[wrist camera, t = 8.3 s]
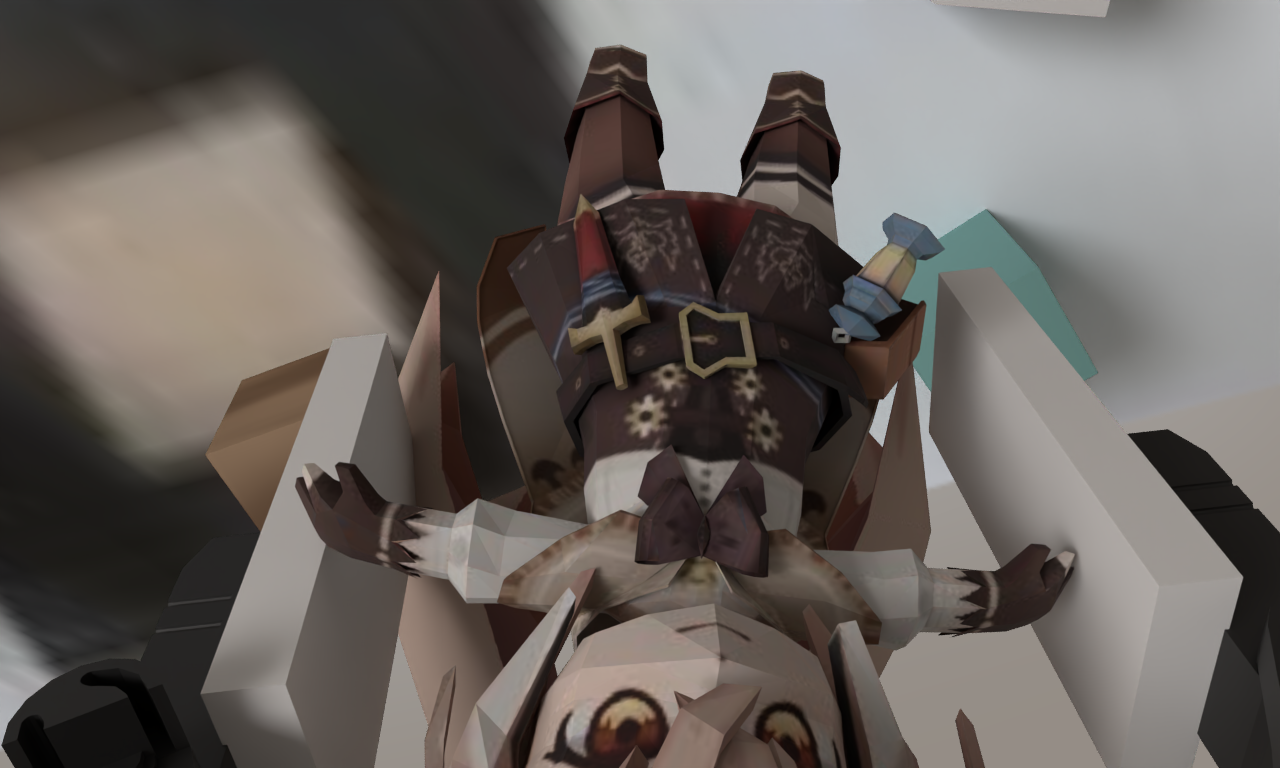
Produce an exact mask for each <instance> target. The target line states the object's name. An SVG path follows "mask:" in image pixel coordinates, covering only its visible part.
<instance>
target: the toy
mask: <svg viewBox="0 0 1280 768" xmlns="http://www.w3.org/2000/svg"><path fill="white" fill-rule="evenodd" d="M564 140H565V145H566V149H567V154H568V158H569V163H570V165H569V169H568V174H567V178H566V182H565V187H564V192H563V198H562V203H561V209H560V214H559V220H558V225H557V226H556V227H553V228H551V229H548V230H546V226H545V224H544V225H540V226H536V227H532V228H529V229H525V230H521V231H517V232H513V233H509V234H506V235H502V236H498V237H495V239H494V241H493V244H492V247H491V250H490V252H489V255H488V258H487V260H486V263H485V266H484V268H483V271H482V274H481V277H480V279H479V282H478V285H477V323H478V328H479V333H480V338H481V343H482V348H483V353H484V358H485V363H486V368H487V373H488V377H489V380H490V383H491V387H492V390H493V393H494V396H495V400H496V403H497V406H498V409H499V413H500V416H501V419H502V422H503V425H504V428H505V431H506V433H507V436H508V439H509V442H510V445H511V447H512V450H513V453H514V456H515V459H516V461H517V464H518V467H519V470H520V473H521V475H522V478H523V481H524V484H525V486H524V487H521V488H519V489H516V490H514V491H511V492H509V493H507V494H504V495H502V496H499V497H497V498H494V499H492V500H490V501H484V500H482V498H481V495H480V491H479V488H478V485H477V482H476V479H475V476H474V473H473V470H472V466H471V463H470V460H469V457H468V454H467V451H466V448H465V444H464V441H463V438H462V431H461V421H460V411H459V401H458V391H457V381H456V371H455V362H454V363H452V364H451V365H450V366H448V367H447V368H446V369H444V370H443V371H442V372H441V360H440V299H439V272H438V274H437V277H436V280H435V282H434V285H433V288H432V290H431V293H430V296H429V298H428V301H427V304H426V306H425V309H424V312H423V314H422V317H421V320H420V322H419V325H418V328H417V330H416V333H415V336H414V338H413V341H412V344H411V346H410V349H409V352H408V354H407V357H406V360H405V362H404V365H403V368H402V370H401V373H400V376H399V378H398V381H399V385H400V389H401V393H402V398H403V402H404V406H405V410H406V414H407V418H408V422H409V426H410V431H411V435H412V443H413V460H414V478H415V496H416V506H413V505H405V504H400V503H394V502H389V501H386V500H385V499H384V498H382V497H381V496H380V495H379V494H378V493H377V492H376V490H375V489H374V488H373V486H372V485H371V484H370V483H369V481H368V480H367V479H366V477H365V476H364V475H363V473H362V472H361V471H360V470H359V468H358V467H357V466H356V464H350V463H344V462H338V463H337V464H336V465H335V468H336V471H337V474H338V477H339V480H340V481H337V480H335V479H333V478H332V477H331V476H330V475H328V474H327V473H326V472H325V471H323V470H322V469H321V468H320V467H319V466H317V465H316V464H315V463H308V464H304V466H303V469H302V474H303V477H297V479H296V484H295V488H296V490H297V492H298V495H299V497H300V499H301V501H302V503H303V505H304V507H305V509H306V512H307V514H308V516H309V518H310V520H311V522H312V524H313V526H314V528H315V530H316V532H317V534H318V536H319V537H320V539H321V540H322V541H323V542H324V543H325V544H326V545H327V546H328V547H330V548H332V549H334V550H336V551H338V552H340V553H342V554H344V555H346V556H348V557H350V558H353V559H357V560H361V561H365V562H369V563H372V564H376V565H380V566H384V567H388V568H392V569H395V570H398V571H400V572H402V573H405V574H407V575H408V581H407V586H406V592H405V598H404V603H403V609H402V614H401V620H400V625H399V631H398V634H399V637H400V640H401V643H402V646H403V650H404V652H405V656H406V659H407V662H408V665H409V668H410V671H411V674H412V677H413V680H414V683H415V686H416V689H417V692H418V696H419V698H420V702H421V705H422V708H423V710H424V714H425V717H426V720H427V723H428V726H429V727H428V730H427V734H426V737H425V768H919V766H918V763H917V759H916V757H915V756H914V754H913V753H912V752H911V750H910V748H909V747H908V745H907V743H906V742H905V740H904V739H903V737H902V735H901V732H900V730H899V727H898V725H897V722H896V720H895V717H894V715H893V712H892V710H891V708H890V705H889V702H888V700H887V697H886V695H885V692H884V690H883V687H882V685H881V682H880V680H879V677H880V675H881V674H882V672H883V670H884V668H885V666H886V664H887V662H888V660H889V658H890V656H891V654H892V652H893V650H898V649H900V648H903V647H905V646H906V645H907V644H908V643H909V642H910V641H911V640H912V639H913V638H914V637H915V636H916V635H917V634H918V633H919V632H941V633H940V634H939V635H950V634H957V635H955V636H959V635H963V634H967V633H981V632H1002V631H1009V630H1012V629H1015V628H1018V627H1022V626H1025V625H1028V624H1030V623H1032V622H1034V621H1036V620H1038V619H1040V618H1041V617H1043V616H1044V615H1046V614H1047V613H1048V612H1050V611H1051V609H1052V607H1053V606H1054V604H1055V602H1056V601H1057V599H1058V597H1059V596H1060V594H1061V592H1062V591H1063V589H1064V587H1065V586H1066V584H1067V582H1068V581H1069V579H1070V577H1071V575H1072V573H1073V570H1074V567H1071V564H1072V562H1073V559H1074V556H1075V554H1073V553H1070V552H1067V551H1064V552H1062V553H1061V554H1059V555H1057V556H1055V557H1054V558H1052V559H1050V560H1048V561H1046V559H1047V557H1048V555H1049V553H1050V551H1051V549H1050V548H1049V547H1047V546H1046V545H1043V544H1030V545H1029V546H1027V547H1026V548H1025V549H1024V550H1023V551H1022V552H1020V553H1019V554H1018V555H1017V556H1016V557H1014V558H1013V559H1012V560H1011V561H1010V562H1009V563H1007V564H1006V565H1005V566H1004V567H1002V568H1000V569H998V570H996V571H978V570H968V569H959V568H949V567H947V568H948V569H936V568H927V567H926V566H925V564H924V563H923V561H924V557H925V553H926V549H927V545H928V541H929V537H930V533H931V527H930V517H929V508H928V499H927V489H926V480H925V471H924V462H923V452H922V443H921V434H920V424H919V415H918V406H917V397H916V387H915V378H914V369H913V361H914V360H915V358H916V357H917V355H918V353H919V351H920V346H921V339H922V333H923V326H924V319H925V312H926V306H927V305H926V303H925V301H924V300H921V301H920V303H919V304H916V303H913V302H910V301H907V300H904V299H901V298H902V296H903V294H904V293H905V291H906V289H907V287H908V285H909V283H910V281H911V279H912V277H913V275H914V273H915V269H916V262H917V259H918V260H925V261H926V260H928V259H931V258H933V257H934V256H936V255H937V254H939V253H940V252H942V251H943V250H945V248H944V247H943V246H942V245H941V243H940V242H939V241H938V240H937V238H936V237H935V236H934V235H933V234H932V232H931V231H930V230H929V229H928V227H927V226H925V225H923V224H920V223H918V222H916V221H913V220H911V219H908V218H906V217H904V216H901V215H899V214H897V213H893V214H892V215H891V216H890V217H889V218H887V219H886V220H885V221H884V222H883V231H884V232H885V234H886V236H887V238H888V244H887V246H885V247H884V248H882V249H881V250H880V251H878V252H877V253H876V254H875V255H874V256H873V257H872V258H871V259H870V261H869V262H868V263H867V264H866V265H865V266H864V267H863V266H861V265H860V264H859V263H858V262H857V261H855V260H854V259H853V258H852V257H851V256H850V255H848V254H847V253H846V252H845V251H844V250H842V249H841V248H840V247H839V246H838V239H837V230H836V222H835V213H834V205H833V196H832V187H831V186H832V184H833V183H834V181H835V180H836V178H837V177H838V173H839V162H840V150H841V147H840V145H839V142H838V139H837V136H836V134H835V131H834V128H833V125H832V123H831V120H830V117H829V115H828V112H827V109H826V104H825V88H824V82H823V80H821V79H819V78H816V77H814V76H812V75H810V74H808V73H805V72H803V71H791V72H781V73H773V75H772V78H771V81H770V83H769V86H768V91H767V95H766V100H765V104H764V106H763V109H762V111H761V113H760V116H759V118H758V120H757V123H756V125H755V127H754V130H753V132H752V134H751V137H750V139H749V141H748V144H747V146H746V148H745V151H744V153H743V155H742V158H741V160H740V162H741V171H742V184H741V187H740V190H739V192H738V195H737V197H735V196H731V195H726V194H722V193H713V192H693V191H674V190H665V187H664V183H663V179H662V175H661V170H660V166H659V162H658V160H659V158H660V156H661V155H662V153H663V151H664V142H663V130H662V120H661V118H660V115H659V112H658V110H657V107H656V104H655V101H654V99H653V96H652V93H651V91H650V88H649V85H648V83H647V56H646V55H645V54H643V53H640V52H638V51H635V50H633V49H630V48H628V47H625V46H623V45H615V46H607V47H600V48H595V51H594V53H593V56H592V58H591V61H590V64H589V68H588V71H587V75H586V77H585V80H584V83H583V85H582V88H581V91H580V93H579V96H578V99H577V101H576V104H575V107H574V109H573V112H572V115H571V118H570V121H569V124H568V127H567V131H566V134H565V137H564ZM897 381H898V383H897ZM896 383H897V388H896V392H895V396H894V401H893V405H892V410H891V414H890V418H889V423H888V427H887V432H886V436H885V440H884V445H883V447H882V446H881V445H880V444H879V443H878V442H877V441H876V440H875V439H874V438H873V437H872V435H871V434H870V433H869V430H870V428H871V425H872V422H873V419H874V416H875V412H876V409H877V405H878V402H879V399H884V398H885V397H886V395H887V394H888V393H889V392H890V390H891V389H892V388H893V386H894V385H895V384H896ZM1045 561H1046V562H1045ZM570 631H571V634H572V641H573V647H574V654H573V655H572V657H571V658H570V660H569V661H568V662H567V664H566V665H565V667H564V668H563V670H562V671H561V672H560V674H559V675H558V676H557V672H556V668H555V664H554V663H555V661H556V659H557V657H558V655H559V653H560V651H561V649H562V647H563V645H564V643H565V641H566V639H567V637H568V635H569V633H570ZM952 637H954V636H952ZM955 721H956V726H957V730H958V735H959V739H960V744H961V749H962V753H963V758H964V762H965V767H966V768H985V767H984V762H983V759H982V755H981V751H980V748H979V744H978V741H977V737H976V733H975V730H974V726H973V724H972V723H971V722H970V721H969V719H968V718H967V717H966V715H965V714H964V713H963V712H962V710H961V709H960V710H959V713H958V715H957V718H956V720H955Z"/></svg>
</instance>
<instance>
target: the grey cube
mask: <svg viewBox="0 0 1280 768" xmlns="http://www.w3.org/2000/svg"><path fill="white" fill-rule="evenodd" d="M930 1H932V2H933V3H934V4H938V5H951V6H964V7H977V8H990V9H1003V10H1016V11H1029V12H1042V13H1055V14H1068V15H1081V16H1094V17H1106V13H1107V10H1108V7H1109V3H1110V0H930Z"/></svg>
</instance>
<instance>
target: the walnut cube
mask: <svg viewBox="0 0 1280 768" xmlns="http://www.w3.org/2000/svg"><path fill="white" fill-rule="evenodd" d="M329 349H330V348H329ZM329 349H326V350H323V351H321V352H318V353H315V354H313V355H310V356H307V357H304V358H302V359H299V360H296V361H293V362H291V363H288V364H285V365H283V366H280V367H277V368H274V369H272V370H269V371H266V372H264V373H261V374H258V375H255V376H253V377H250V378H247V379H245V380H242V382H241V384H240V386H239V388H238V390H237V392H236V394H235V396H234V398H233V400H232V402H231V404H230V406H229V408H228V410H227V412H226V414H225V416H224V418H223V420H222V422H221V424H220V426H219V428H218V430H217V432H216V434H215V436H214V438H213V440H212V442H211V444H210V446H209V448H208V450H207V452H206V454H205V455H206V457H207V458H208V460H209V461H210V462H211V464H212V465H213V466H214V468H215V469H216V471H217V472H218V473H219V475H220V476H221V478H222V479H223V480H224V482H225V483H226V484H227V486H228V487H229V489H230V490H231V491H232V493H233V494H234V496H235V497H236V498H237V500H238V501H239V503H240V504H241V505H242V507H243V508H244V509H245V511H246V512H247V514H248V515H249V516H250V518H251V519H252V521H253V522H254V523H255V525H256V526H257V527H258V529H259V530H260V532H261V531H262V528H263V525H264V523H265V520H266V517H267V515H268V512H269V509H270V507H271V504H272V501H273V499H274V496H275V493H276V491H277V488H278V485H279V483H280V480H281V477H282V475H283V472H284V469H285V467H286V464H287V461H288V459H289V456H290V453H291V451H292V448H293V445H294V443H295V440H296V437H297V435H298V432H299V429H300V427H301V424H302V421H303V419H304V416H305V413H306V411H307V408H308V405H309V403H310V400H311V397H312V395H313V392H314V389H315V387H316V384H317V381H318V379H319V376H320V373H321V371H322V368H323V365H324V363H325V360H326V357H327V355H328V352H329Z"/></svg>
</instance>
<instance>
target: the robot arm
mask: <svg viewBox="0 0 1280 768" xmlns="http://www.w3.org/2000/svg"><path fill="white" fill-rule="evenodd" d="M929 433H930V435H931V437H932V439H933V441H934V442H935V444H936V446H937V448H938V450H939V452H940V454H941V456H942V458H943V459H944V461H945V463H946V465H947V467H948V469H949V471H950V473H951V475H952V476H953V478H954V480H955V482H956V484H957V486H958V488H959V489H960V492H961V493H962V495H963V497H964V499H965V501H966V503H967V505H968V507H969V509H970V510H971V512H972V514H973V516H974V518H975V520H976V522H977V524H978V525H979V527H980V529H981V531H982V533H983V535H984V537H985V539H986V541H987V543H988V544H989V546H990V548H991V550H992V552H993V554H994V556H995V558H996V560H997V561H998V563H999V565H1000V567H1001V568H1002V567H1004V566H1005V565H1006V564H1007V563H1009V562H1010V561H1011V560H1012V559H1013V558H1014V557H1016V556H1017V555H1018V554H1019V553H1020V552H1022V551H1023V550H1024V549H1025V548H1026V547H1027V546H1029V545H1030V544H1043V545H1046V546H1047V547H1049V548H1050V549H1051V551H1050V553H1049V555H1048V557H1047V559H1046V561H1048V560H1050V559H1052V558H1054V557H1055V556H1057V555H1059V554H1061V553H1062V552H1064V551H1067V552H1070V553H1073V554H1075V556H1074V559H1073V562H1072V564H1071V567H1074V570H1073V573H1072V575H1071V577H1070V579H1069V581H1068V582H1067V584H1066V586H1065V587H1064V589H1063V591H1062V592H1061V594H1060V596H1059V597H1058V599H1057V601H1056V602H1055V604H1054V606H1053V607H1052V609H1051V611H1050V612H1048V613H1047V614H1046V615H1044V616H1043V617H1041V618H1040V619H1038V620H1036V621H1034V622H1032V623H1030V624H1031V626H1032V628H1033V630H1034V631H1035V633H1036V635H1037V637H1038V639H1039V641H1040V643H1041V645H1042V647H1043V648H1044V650H1045V652H1046V654H1047V656H1048V658H1049V660H1050V661H1051V664H1052V665H1053V667H1054V669H1055V671H1056V673H1057V675H1058V677H1059V679H1060V680H1061V682H1062V684H1063V686H1064V688H1065V690H1066V692H1067V694H1068V696H1069V698H1070V699H1071V701H1072V703H1073V705H1074V707H1075V709H1076V711H1077V713H1078V715H1079V716H1080V718H1081V720H1082V722H1083V724H1084V726H1085V728H1086V730H1087V732H1088V733H1089V735H1090V737H1091V739H1092V741H1093V743H1094V745H1095V747H1096V749H1097V750H1098V752H1099V754H1100V756H1101V758H1102V760H1103V762H1104V764H1105V766H1106V767H1107V768H1192V766H1193V762H1194V759H1195V755H1196V751H1197V747H1198V744H1199V740H1200V739H1201V740H1202V742H1203V744H1204V745H1205V747H1206V748H1207V750H1208V751H1209V753H1210V755H1211V756H1212V758H1213V759H1214V761H1215V762H1216V764H1217V766H1218V767H1219V768H1280V532H1279V531H1278V530H1277V529H1276V528H1275V527H1274V526H1273V525H1272V524H1271V523H1270V521H1269V520H1268V519H1267V518H1266V517H1265V516H1264V515H1263V514H1262V512H1261V511H1260V510H1259V509H1254V508H1253V503H1252V502H1251V500H1250V499H1249V498H1248V497H1247V496H1246V495H1245V494H1244V493H1243V492H1242V490H1241V489H1240V488H1239V487H1238V486H1233V484H1232V479H1231V478H1230V477H1229V476H1228V475H1227V474H1226V473H1225V471H1224V470H1223V469H1222V468H1221V467H1220V466H1219V465H1218V464H1217V463H1216V462H1215V461H1214V460H1213V458H1212V457H1211V456H1210V455H1209V454H1208V453H1207V452H1206V451H1204V450H1203V449H1201V448H1199V447H1197V446H1196V445H1194V444H1192V443H1190V442H1189V441H1187V440H1185V439H1184V438H1182V437H1180V436H1178V435H1177V434H1175V433H1173V432H1172V431H1170V430H1168V429H1167V430H1158V431H1149V432H1140V433H1131V434H1127V433H1126V432H1125V431H1124V430H1123V428H1122V427H1121V426H1120V425H1119V423H1118V422H1117V421H1116V420H1115V418H1114V417H1113V416H1112V415H1111V413H1110V412H1109V411H1108V410H1107V409H1106V407H1105V406H1104V405H1103V404H1102V402H1101V401H1100V400H1099V399H1098V397H1097V396H1096V395H1095V394H1094V393H1093V391H1092V390H1091V389H1090V388H1089V386H1088V385H1087V384H1086V383H1085V381H1084V380H1083V379H1082V378H1081V376H1080V375H1079V374H1078V373H1077V372H1076V370H1075V369H1074V368H1073V367H1072V365H1071V364H1070V363H1069V362H1068V360H1067V359H1066V358H1065V357H1064V356H1063V354H1062V353H1061V352H1060V351H1059V349H1058V348H1057V347H1056V346H1055V344H1054V343H1053V342H1052V341H1051V340H1050V338H1049V337H1048V336H1047V335H1046V333H1045V332H1044V331H1043V330H1042V328H1041V327H1040V326H1039V325H1038V323H1037V322H1036V321H1035V320H1034V319H1033V317H1032V316H1031V315H1030V314H1029V312H1028V311H1027V310H1026V309H1025V307H1024V306H1023V305H1022V304H1021V303H1020V301H1019V300H1018V299H1017V298H1016V296H1015V295H1014V294H1013V293H1012V291H1011V290H1010V289H1009V288H1008V286H1007V285H1006V284H1005V283H1004V282H1003V280H1002V279H1001V278H1000V277H999V275H998V274H997V273H996V272H995V270H994V269H993V268H992V267H986V268H977V269H968V270H959V271H950V272H941V273H939V275H938V291H937V307H936V324H935V340H934V356H933V373H932V389H931V405H930V421H929ZM338 462H344V463H350V464H356V466H357V467H358V468H359V470H360V471H361V472H362V473H363V475H364V476H365V477H366V479H367V480H368V481H369V483H370V484H371V485H372V486H373V488H374V489H375V490H376V492H377V493H378V494H379V495H380V496H381V497H382V498H384V499H385V500H386V501H389V502H394V503H400V504H405V505H413V506H416V496H415V478H414V460H413V443H412V435H411V431H410V426H409V422H408V418H407V414H406V410H405V406H404V402H403V398H402V393H401V389H400V385H399V381H398V377H397V373H396V369H395V365H394V360H393V356H392V352H391V348H390V344H389V340H388V336H387V333H383V334H374V335H365V336H355V337H346V338H337V339H333V341H332V344H331V347H330V349H329V352H328V355H327V357H326V360H325V363H324V365H323V368H322V371H321V373H320V376H319V379H318V381H317V384H316V387H315V389H314V392H313V395H312V397H311V400H310V403H309V405H308V408H307V411H306V413H305V416H304V419H303V421H302V424H301V427H300V429H299V432H298V435H297V437H296V440H295V443H294V445H293V448H292V451H291V453H290V456H289V459H288V461H287V464H286V467H285V469H284V472H283V475H282V477H281V480H280V483H279V485H278V488H277V491H276V493H275V496H274V499H273V501H272V504H271V507H270V509H269V512H268V515H267V517H266V520H265V523H264V525H263V528H262V531H261V533H253V534H244V535H235V536H226V537H217V538H212V539H211V540H210V541H209V542H208V543H207V544H206V545H205V546H204V547H203V548H202V549H201V550H200V551H199V552H198V553H197V554H196V555H195V556H194V557H193V558H192V559H191V560H190V561H189V562H188V563H187V564H186V565H185V566H184V567H183V568H182V570H181V573H180V575H179V577H178V579H177V582H176V584H175V586H174V588H173V590H172V593H171V595H170V597H169V599H168V607H166V608H164V610H163V612H162V615H161V617H160V619H159V621H158V623H157V626H156V634H155V635H152V637H151V639H150V641H149V643H148V646H147V648H146V650H145V652H144V654H143V657H142V659H141V661H138V660H136V659H107V660H103V661H99V662H95V663H91V664H87V665H83V666H80V667H78V668H76V669H74V670H72V671H70V672H67V673H65V674H63V675H61V676H59V677H57V678H55V679H53V680H51V681H50V682H49V683H47V684H46V685H45V686H44V687H42V688H41V689H40V690H38V691H37V692H36V693H35V694H33V695H32V696H31V697H30V698H28V699H27V700H26V701H25V702H24V703H23V705H22V706H21V707H20V709H19V710H18V711H17V712H16V714H15V715H14V716H13V718H12V719H11V720H10V721H9V723H8V726H7V729H6V732H5V736H4V739H3V742H2V747H3V749H4V750H5V752H6V754H7V756H8V757H9V759H10V761H11V762H12V764H13V766H14V767H15V768H374V764H375V759H376V753H377V748H378V742H379V737H380V731H381V725H382V720H383V714H384V709H385V703H386V698H387V692H388V687H389V681H390V675H391V670H392V664H393V659H394V653H395V647H396V642H397V637H398V631H399V625H400V620H401V614H402V609H403V603H404V598H405V592H406V586H407V581H408V575H407V574H405V573H402V572H400V571H398V570H395V569H392V568H388V567H384V566H380V565H376V564H372V563H369V562H365V561H361V560H357V559H353V558H350V557H348V556H346V555H344V554H342V553H340V552H338V551H336V550H334V549H332V548H330V547H328V546H327V545H326V544H325V543H324V542H323V541H322V540H321V539H320V537H319V536H318V534H317V532H316V530H315V528H314V526H313V524H312V522H311V520H310V518H309V516H308V514H307V512H306V509H305V507H304V505H303V503H302V501H301V499H300V497H299V495H298V492H297V490H296V488H295V484H296V479H297V477H303V474H302V469H303V466H304V464H308V463H315V464H316V465H317V466H319V467H320V468H321V469H322V470H323V471H325V472H326V473H327V474H328V475H330V476H331V477H332V478H333V479H335V480H337V481H340V480H339V477H338V474H337V471H336V468H335V465H336V464H337V463H338ZM1046 561H1045V562H1046Z"/></svg>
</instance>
